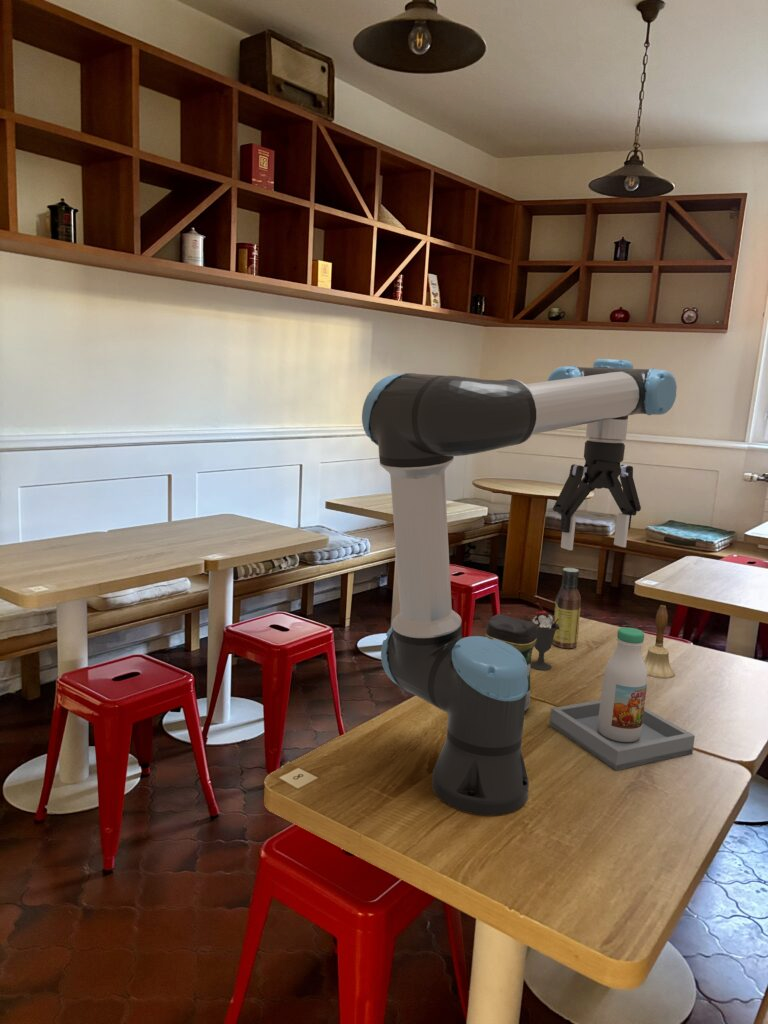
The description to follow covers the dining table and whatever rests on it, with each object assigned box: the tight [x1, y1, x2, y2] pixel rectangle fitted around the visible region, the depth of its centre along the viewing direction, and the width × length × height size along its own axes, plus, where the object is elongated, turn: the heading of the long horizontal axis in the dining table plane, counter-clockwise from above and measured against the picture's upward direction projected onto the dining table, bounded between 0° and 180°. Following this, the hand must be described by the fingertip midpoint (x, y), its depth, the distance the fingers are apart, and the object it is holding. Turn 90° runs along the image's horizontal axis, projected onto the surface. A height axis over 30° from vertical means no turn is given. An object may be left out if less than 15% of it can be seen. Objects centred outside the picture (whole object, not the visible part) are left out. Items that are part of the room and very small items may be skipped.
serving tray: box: [549, 699, 696, 772], centre depth 139 cm, size 18×18×4 cm
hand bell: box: [643, 604, 676, 679], centre depth 174 cm, size 8×8×16 cm
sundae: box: [530, 602, 560, 671], centre depth 173 cm, size 7×7×15 cm
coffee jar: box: [485, 613, 536, 712], centre depth 150 cm, size 10×8×19 cm
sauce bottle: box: [552, 567, 582, 650], centre depth 188 cm, size 6×6×20 cm
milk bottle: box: [598, 626, 648, 742], centre depth 138 cm, size 8×8×20 cm
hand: (593, 547), depth 150 cm, fingers open, 13 cm apart
